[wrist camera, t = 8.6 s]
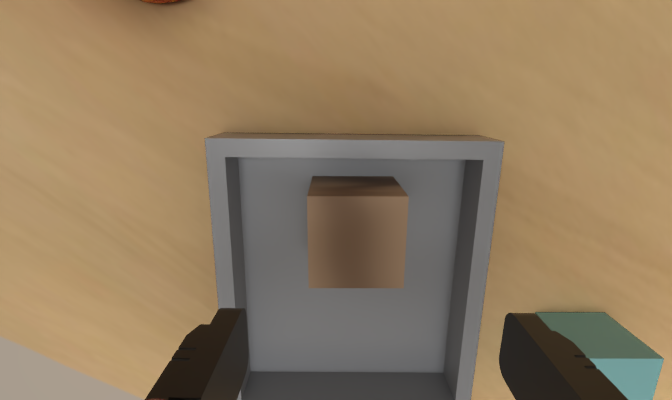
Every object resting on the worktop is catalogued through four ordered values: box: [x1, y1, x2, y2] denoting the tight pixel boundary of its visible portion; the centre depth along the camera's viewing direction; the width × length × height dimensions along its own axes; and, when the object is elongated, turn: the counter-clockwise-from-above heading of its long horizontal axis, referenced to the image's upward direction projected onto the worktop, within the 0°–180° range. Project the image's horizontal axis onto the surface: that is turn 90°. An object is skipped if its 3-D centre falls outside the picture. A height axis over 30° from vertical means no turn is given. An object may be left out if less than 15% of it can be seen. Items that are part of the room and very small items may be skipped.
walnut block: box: [307, 176, 409, 288], centre depth 21 cm, size 5×5×5 cm
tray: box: [205, 133, 504, 400], centre depth 24 cm, size 16×18×4 cm
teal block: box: [535, 312, 664, 400], centre depth 25 cm, size 5×5×5 cm
